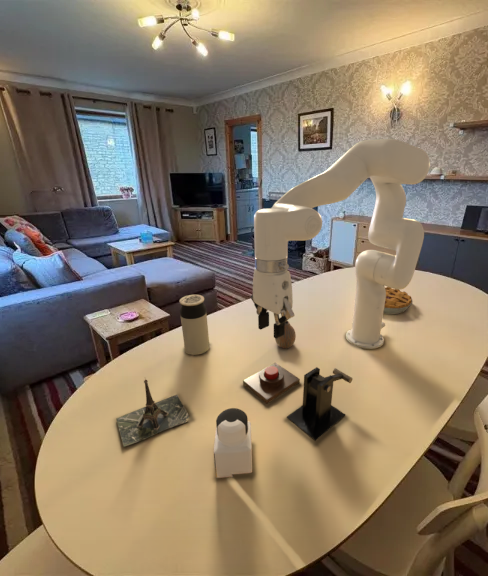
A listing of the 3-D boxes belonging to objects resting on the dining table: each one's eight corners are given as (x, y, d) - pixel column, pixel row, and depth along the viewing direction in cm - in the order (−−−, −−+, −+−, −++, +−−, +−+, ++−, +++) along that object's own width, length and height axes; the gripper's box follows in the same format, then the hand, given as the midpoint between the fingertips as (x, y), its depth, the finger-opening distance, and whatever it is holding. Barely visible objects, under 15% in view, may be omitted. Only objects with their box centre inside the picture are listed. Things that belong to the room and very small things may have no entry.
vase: (293, 352, 100) (294, 328, 97) (273, 349, 101) (273, 326, 98) (296, 340, 106) (297, 318, 103) (276, 338, 107) (277, 316, 104)
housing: (275, 368, 92) (275, 357, 91) (299, 385, 85) (300, 373, 84) (243, 386, 85) (242, 374, 83) (267, 406, 78) (266, 394, 76)
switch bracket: (316, 398, 80) (319, 357, 76) (345, 418, 74) (350, 375, 69) (286, 420, 74) (287, 377, 69) (315, 444, 67) (318, 398, 63)
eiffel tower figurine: (178, 395, 82) (171, 353, 76) (191, 420, 74) (185, 374, 69) (116, 419, 74) (104, 374, 69) (124, 450, 66) (111, 402, 61)
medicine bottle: (218, 447, 67) (214, 404, 62) (251, 445, 67) (250, 402, 63) (216, 479, 60) (211, 433, 56) (252, 476, 61) (250, 430, 56)
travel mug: (214, 345, 104) (210, 296, 97) (199, 358, 97) (194, 306, 90) (195, 339, 107) (189, 292, 100) (179, 352, 100) (172, 301, 93)
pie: (415, 300, 136) (417, 290, 134) (405, 321, 119) (408, 309, 117) (366, 290, 147) (367, 280, 145) (351, 307, 130) (352, 296, 128)
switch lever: (334, 374, 79) (337, 366, 79) (351, 384, 76) (353, 375, 75) (305, 383, 71) (307, 373, 70) (322, 394, 67) (324, 384, 67)
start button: (271, 369, 86) (271, 364, 85) (280, 375, 83) (280, 370, 83) (262, 375, 84) (261, 369, 83) (270, 381, 81) (270, 376, 81)
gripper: (309, 269, 68) (306, 339, 75) (259, 253, 79) (260, 315, 86) (285, 277, 63) (284, 351, 70) (236, 259, 75) (239, 324, 82)
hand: (271, 331), depth 78 cm, fingers open, 5 cm apart
